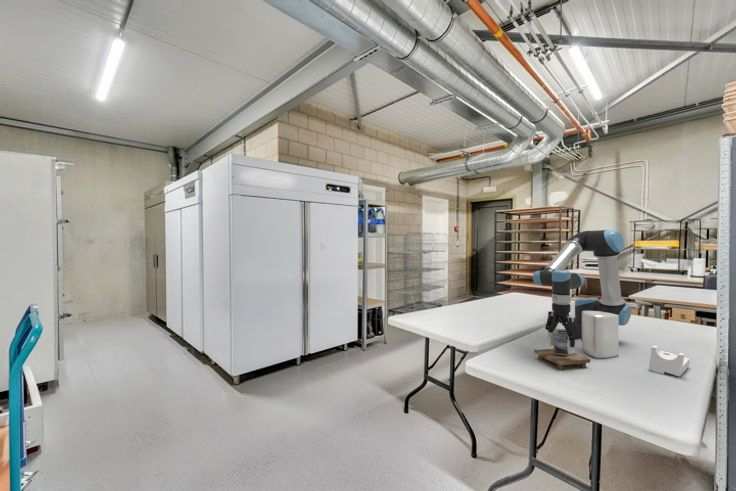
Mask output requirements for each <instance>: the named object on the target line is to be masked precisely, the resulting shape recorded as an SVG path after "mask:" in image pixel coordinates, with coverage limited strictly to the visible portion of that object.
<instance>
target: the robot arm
mask: <svg viewBox="0 0 736 491" xmlns="http://www.w3.org/2000/svg"><path fill="white" fill-rule="evenodd" d="M624 245H625V241H624V237H623V234H621V232H619V231H618V230H614V229H613V230H611V229H603V230H602V229H601V230H597V229H596V230H584V231H580V232H578V233H575V234H574V235H572V236H570V238H568V239H567V240H566V241H564V244H563V247H562V249H561V250H559V251H558V253H557V254H556V255H555V257H553V258H552V259H551V261H550V262H549V263H548V264H547V265H546V266H545V267H544V269H543V270H537V271H534V273H533V274H532V280H533V283H534V284H535V285H537V286H543V287H551V302H552V303H551V311H550V310H549V311H547V314H548V315H547V319H546V323H545V327H544V329H545V330H546V331H547V332H548V339H549V340H548V341H549V343H548V344H549V347H554V341H553V331H554V329H557V326H558V324H561V326H563V329H565V330H566V333H567V335H568V354H574V353H575V348H576V340H577V341H578V340H580V339H581V340H582V311H601V312H607V313H613V314H617V315H619V326H626V325H627V324H629V322H630V319H631V316H632V307H631V306H630V305H628V304H627V303H626V300H625V299H624V298H622V290H621V282H620V274H619V273H620V272H619V266H618V257H619V256H620V254H621V252H622V251H624V248H625V247H624ZM582 252H593V254H592V255H593V257H595V258H596V259H597V266H598V274H599V283H600V290H601V298H600V299H599V298H597V297H579V298H576V299H575V301H574V316H570V313H571V303H572V302H571V290H576V289H579V288H581V287H583V286H584V284H585V278H584V276H583V275H582V274H581V273H578V272H572V273H571V272H570V271H569V270H566V268H567V267H568V266H569V265H570V263H571V262H572V261H573V260H574V258H576V256H577V255H580V254H581V253H582Z"/></svg>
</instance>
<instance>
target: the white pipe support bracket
mask: <svg viewBox="0 0 736 491" xmlns="http://www.w3.org/2000/svg"><path fill="white" fill-rule="evenodd" d="M650 350H651V351H650V359H649V366H648V370H649V371H651V372H655V373H658V374H661V375H665V373H667V374H671V375H673V376H677V377H678V378H679V377H681V376H682V375H683V373H684V372H685V371H686V370H687V369H688V368H689V367H690V362H691V358H689V357H686V356H685V353H683V352H679V353H678V354H675V353H671V352H667V351H665V350H659V346H658V345H654V344H653V346H651V349H650Z"/></svg>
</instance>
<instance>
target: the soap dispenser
mask: <svg viewBox="0 0 736 491" xmlns="http://www.w3.org/2000/svg"><path fill="white" fill-rule="evenodd" d="M619 326H620V325H619V315H617V314H613V313H607V312H601V311H582V339H581V350H582V351H583V352H585V353H586V354H588V356H591V357H593V358H596V359H609V358H615V357H619V354H620V353H619V352H620V350H619V349H620V346H619V345H620V343H619V341H620V340H619V339H620V336H619V335H620V330H619V329H620V328H619Z"/></svg>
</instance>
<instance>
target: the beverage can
mask: <svg viewBox="0 0 736 491" xmlns="http://www.w3.org/2000/svg"><path fill="white" fill-rule="evenodd" d="M568 339H569V337H568V335H567V333H566V330H565V328H555V329H554V331H553V341H554V346H553V348H554V352H555V353H556V354H559V355H567V354H568Z"/></svg>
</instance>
